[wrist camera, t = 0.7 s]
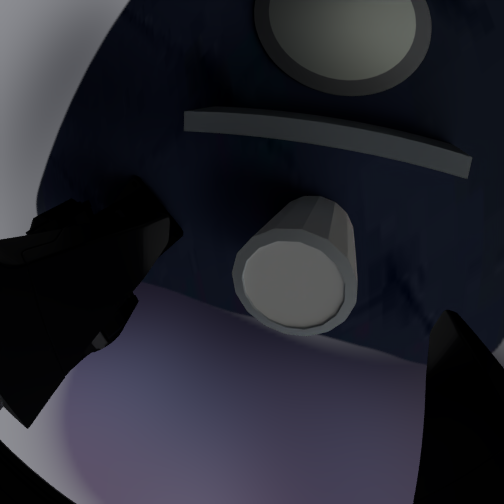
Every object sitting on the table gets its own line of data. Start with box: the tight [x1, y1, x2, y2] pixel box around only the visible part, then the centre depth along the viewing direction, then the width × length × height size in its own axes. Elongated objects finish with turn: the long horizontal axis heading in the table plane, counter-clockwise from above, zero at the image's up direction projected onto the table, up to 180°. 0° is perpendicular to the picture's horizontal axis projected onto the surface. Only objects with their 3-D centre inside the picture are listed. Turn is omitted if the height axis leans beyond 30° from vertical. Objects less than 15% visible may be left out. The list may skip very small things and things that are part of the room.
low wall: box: [184, 106, 472, 179], centre depth 17 cm, size 16×1×4 cm, turn 86°
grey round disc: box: [254, 0, 431, 96], centre depth 14 cm, size 11×11×1 cm
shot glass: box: [232, 196, 357, 336], centre depth 19 cm, size 7×7×7 cm
